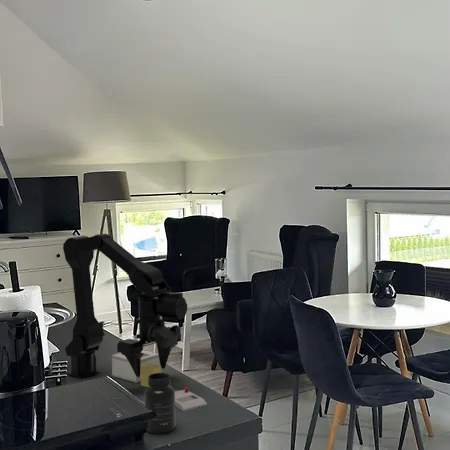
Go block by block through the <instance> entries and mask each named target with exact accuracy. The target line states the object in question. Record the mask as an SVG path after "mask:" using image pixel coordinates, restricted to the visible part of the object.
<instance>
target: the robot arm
mask: <svg viewBox="0 0 450 450" xmlns="http://www.w3.org/2000/svg"><path fill="white" fill-rule="evenodd" d="M62 244H63V245H62V250H63V255H64V258H65V259H64V260H65V261H66V263H67V264H68V266H69V267H70V268H71V273H72V274H71V275H72V282H73V293H74V301H75V304H74V305H75V311H76V312H75V313H76V319H75V320H76V321H75V323H74V326H73V329H72V340H70V342H69V343H68V344H67V345H66V346H65V349H64V350H65V354H66V356H68V357H70V371H68V373H67V375H69V376H72V377H76V378H78V379H83V378H88V377H90V376H93V375H96V374H99V373H100V371H99V370H97V356H96V351H97V352H98V351H99V350H100V349H99V348H100V346H101V344H102V343H103V342H104V341H103V340H104V336H105V332H104V323H103V321H99V320H98V319H97V318H96V317H95V316H96V315H95V307H94V300H93V299H94V296H93V289H92V288H93V287H92V279H91V264H92V262H93V259H94V256H95V255H94V253H95V251H96V250H98V251H99V252H100V253H102V254H103V255H104V256H105V257H106V258H108V259H109V260H110V261H111V262H112V263H113V264H115V265H116V266H117V267H119V268H120V269H121V270H122V271H123V272H124V273H126V275H127V276H128V278H129V282H130V283H131V284H132V285H133V286H134V287H135V289H136V291H135V293H134V294H132V295H131V298H132V299H137V300H138V318H136V319H135V324H138V325H139V326H138V329H139V331H138V333H137V334H135V338H136V339H137V340H136V339H132V338H126V339H124V340H119V341H118V343H117V344H116V345H117V346H116V348H117V349H116V352H117V353H121V354H123V355H125V357H126V358H127V360H128V361H129V363H130V365H131V367H132V369H133V371H134V373H135V375H136V377H140V364H141V357H142V356H143V354H144V353H141V352H142V350H144V347H148V346H150V345H151V346H152V345H155V344H156V346H157V347H156V348H157V354H158V355H159V363H160V366H161V370H164V369H166V366H167V363H168V359H169V356H170V354H171V352H172V349H173V348H174V347H176V346H178V345H179V342H182V334H181V326H179V325H178V324H176V325H172V326H166V325H165V320H164V318H167V319H175V320H183V319H185V317H186V316H187V312H188V303H187V301H186V298H185V297H183V296H184V294H183V292H180V291H179V292H172V289H171V288H170V286H169V284H168V283H167V281H166V280H165V278H164V276H163V272H162V271H161V270H160V269H159V268H157V267H155V266H153V265H151V264H149V263H146V262H144V261H141V260H139V259H138V258H136V257H135V256H134V255H133V254H132V253H131V252H129V250H126V248H124V247H123V246H122V245H120V244H119V243H118V242H117V241H115V239H113V238H112V236H111V235H109V234H107V233H100V234H95V235H93V236H85V235H84V236H83V235H82V236H74V237H68V238H67V239H66V240H65V241H64V242H63V243H62Z"/></svg>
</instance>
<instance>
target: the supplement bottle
mask: <svg viewBox="0 0 450 450" xmlns="http://www.w3.org/2000/svg"><path fill="white" fill-rule="evenodd" d="M171 383H172V382H171V375H170V374H168V373H166V372H162V373H155V374H151V375H150V376H149V377H148V385H149V387H146V388H145V391H144V392H143V400H144V402H143V403H144V404H143V405H144V406H145V407H144V409H145V408H147V409H149V410H152V411H153V412H155V413H156V415H157V416H156V418H154V419H153V420H152V421H151V422H150V423H149V425H148V429H147V430H146V432H148V433H151V434H154V435H155V434H156V435H160V434H161V435H162V434H163V435H164V434H167V433H170V432H172V431H173V430H174V429H175V428H176V407H175V390H174V389H175V388H173V386H171Z"/></svg>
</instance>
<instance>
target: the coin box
mask: <svg viewBox="0 0 450 450" xmlns="http://www.w3.org/2000/svg"><path fill="white" fill-rule="evenodd" d="M141 353H144V354H143V356H142V357H141V364H140V366H141V365H144V364H147V363H150V364H154V365H158V366H161V365H160V361H159V355H158V353H155V352H151V351H147V350H144V349H143V350H142V352H141ZM111 368H112V369H111V371H112V372H111V374H112V377H114V378H118V379H122V380H124V381H125V380H126V381H128V382H132V383H134V384H135V383H136V384H137V383H141V367H140V377H136V375H135V373H134V371H133V369H132V367H131V365H130V363H129V361H128V360H127V358H126V357H125V355H123V354H121V353H120V352H117V353H115V354H112V355H111Z"/></svg>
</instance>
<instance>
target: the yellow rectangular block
mask: <svg viewBox="0 0 450 450" xmlns="http://www.w3.org/2000/svg"><path fill="white" fill-rule="evenodd" d="M140 367H141V381H140V386H142V387H145V388H148V387H149V385H148V377H149V376H150V375H151V374H155V373H163V372H162V368H161V365H160V366H158V365H154V364H150V363H147V364H144V365H141V366H140Z"/></svg>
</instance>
